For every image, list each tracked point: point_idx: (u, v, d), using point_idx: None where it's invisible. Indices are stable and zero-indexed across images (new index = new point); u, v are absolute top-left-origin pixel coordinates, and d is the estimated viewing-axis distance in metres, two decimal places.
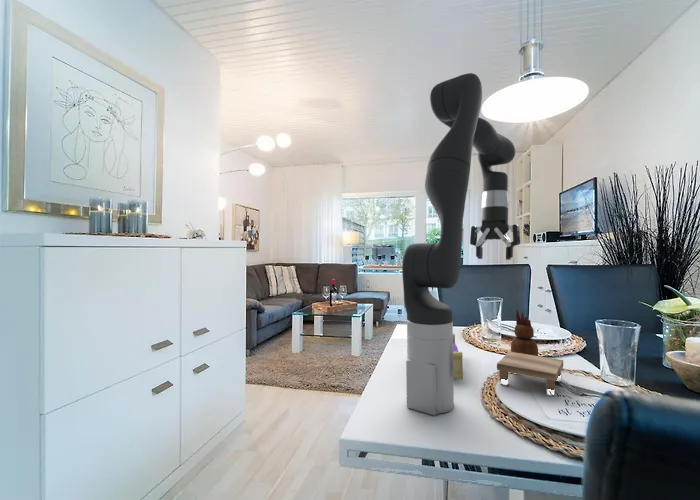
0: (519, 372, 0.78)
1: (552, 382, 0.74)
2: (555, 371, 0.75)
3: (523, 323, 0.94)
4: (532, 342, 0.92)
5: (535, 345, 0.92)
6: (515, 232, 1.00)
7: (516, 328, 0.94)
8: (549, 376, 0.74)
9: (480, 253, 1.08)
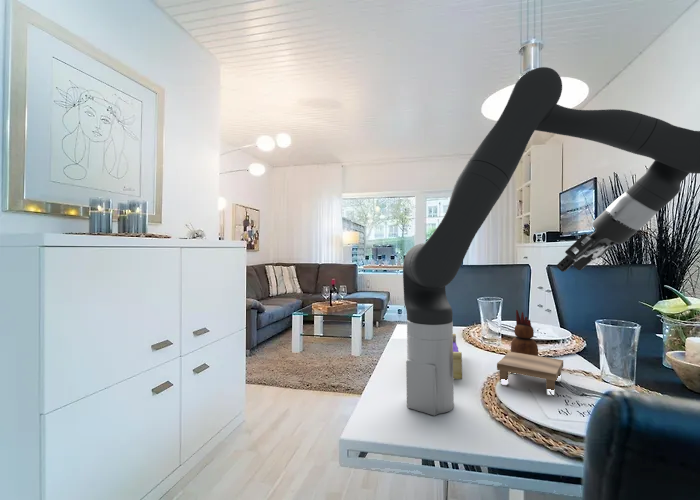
0: (519, 372, 0.78)
1: (552, 382, 0.74)
2: (555, 371, 0.75)
3: (523, 323, 0.94)
4: (532, 342, 0.92)
5: (535, 345, 0.92)
6: None
7: (516, 328, 0.94)
8: (549, 376, 0.74)
9: (579, 261, 0.86)
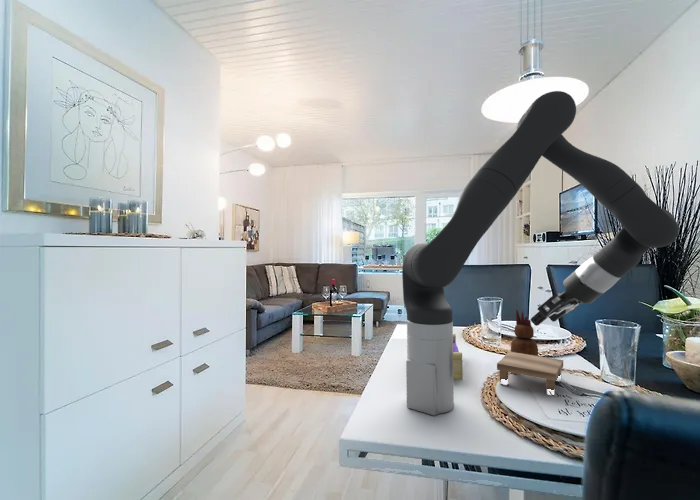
0: (519, 372, 0.78)
1: (552, 382, 0.74)
2: (555, 371, 0.75)
3: (523, 323, 0.94)
4: (532, 342, 0.92)
5: (535, 345, 0.92)
6: None
7: (516, 328, 0.94)
8: (549, 376, 0.74)
9: (553, 313, 0.92)
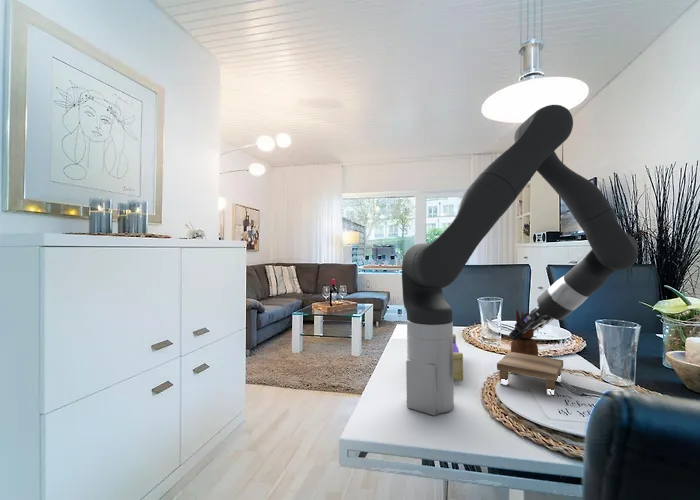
0: (519, 372, 0.78)
1: (552, 382, 0.74)
2: (555, 371, 0.75)
3: None
4: (532, 342, 0.92)
5: (535, 345, 0.92)
6: None
7: None
8: (549, 376, 0.74)
9: None
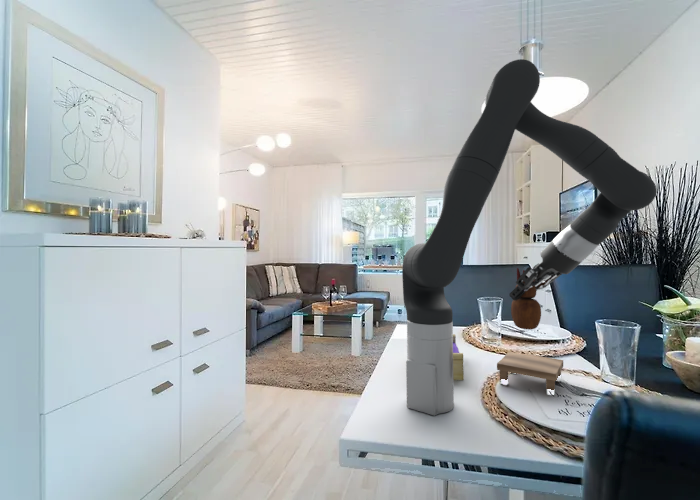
0: (519, 372, 0.78)
1: (552, 382, 0.74)
2: (555, 371, 0.75)
3: (524, 282, 0.86)
4: (535, 301, 0.83)
5: (538, 305, 0.83)
6: None
7: None
8: (549, 376, 0.74)
9: None
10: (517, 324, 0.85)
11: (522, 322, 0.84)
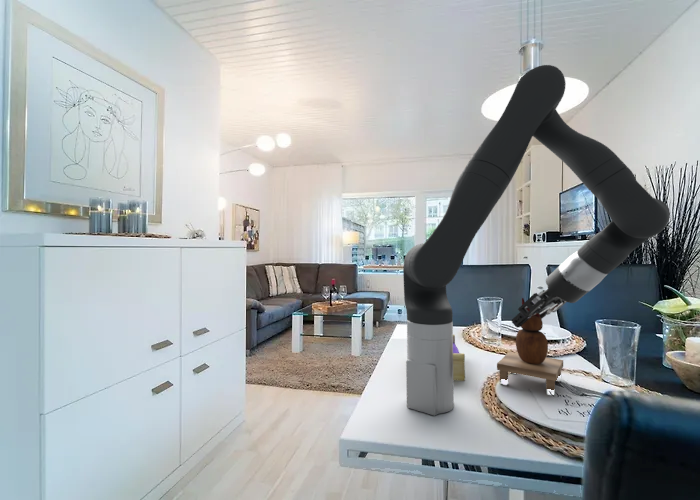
0: (519, 372, 0.78)
1: (552, 382, 0.74)
2: (555, 371, 0.75)
3: None
4: (541, 335, 0.79)
5: (544, 339, 0.79)
6: None
7: None
8: (549, 376, 0.74)
9: None
10: (522, 358, 0.81)
11: (528, 357, 0.79)
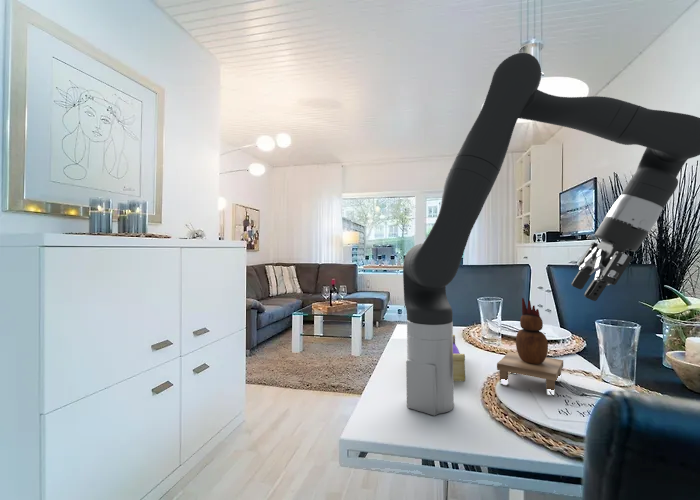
0: (519, 372, 0.78)
1: (552, 382, 0.74)
2: (555, 371, 0.75)
3: (530, 313, 0.81)
4: (541, 335, 0.79)
5: (544, 339, 0.79)
6: (611, 262, 0.64)
7: (522, 319, 0.81)
8: (549, 376, 0.74)
9: (578, 280, 0.75)
10: (522, 358, 0.81)
11: (528, 357, 0.79)
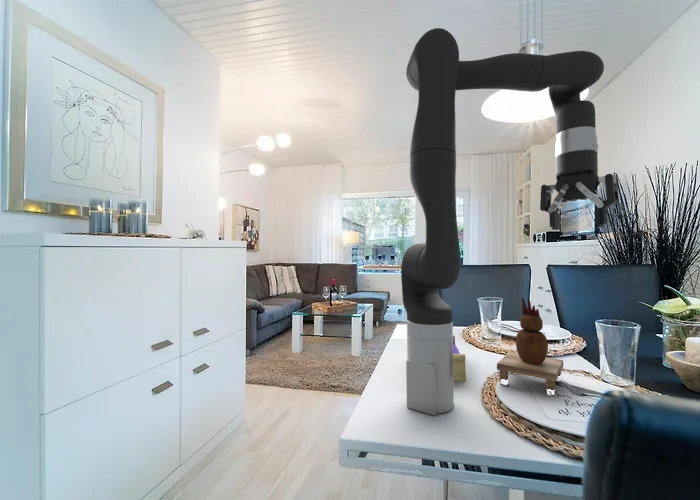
0: (519, 372, 0.78)
1: (552, 382, 0.74)
2: (555, 371, 0.75)
3: (530, 313, 0.81)
4: (541, 335, 0.79)
5: (544, 339, 0.79)
6: (610, 185, 0.67)
7: (522, 319, 0.81)
8: (549, 376, 0.74)
9: (556, 222, 0.76)
10: (522, 358, 0.81)
11: (528, 357, 0.79)
